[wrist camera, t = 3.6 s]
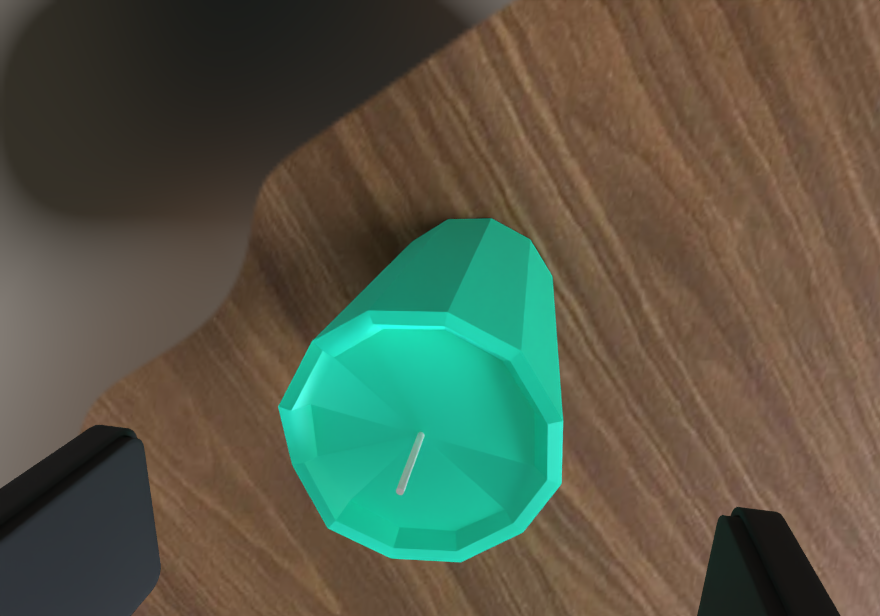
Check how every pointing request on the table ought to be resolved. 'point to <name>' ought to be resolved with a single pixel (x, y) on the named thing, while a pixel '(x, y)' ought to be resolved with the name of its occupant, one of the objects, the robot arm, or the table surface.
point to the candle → (435, 399)
